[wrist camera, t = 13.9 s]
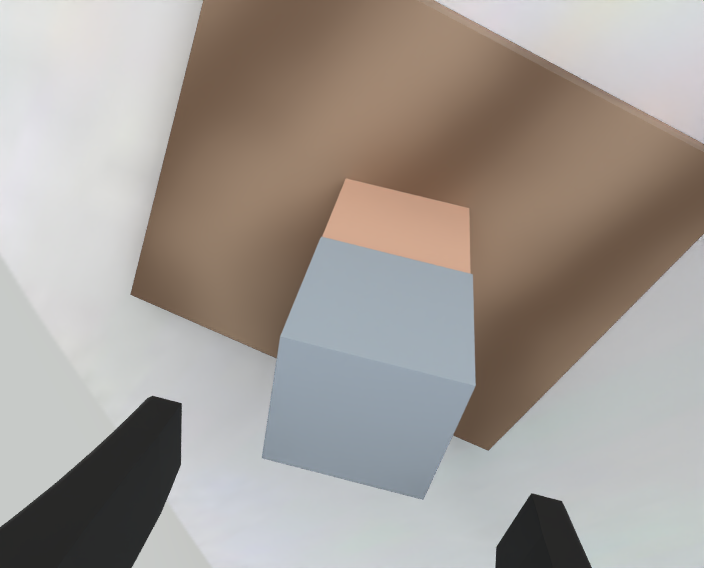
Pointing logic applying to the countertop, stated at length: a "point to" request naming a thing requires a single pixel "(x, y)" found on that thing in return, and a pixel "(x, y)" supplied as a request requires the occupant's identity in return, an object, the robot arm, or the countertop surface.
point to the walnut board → (414, 180)
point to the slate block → (372, 368)
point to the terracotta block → (401, 225)
